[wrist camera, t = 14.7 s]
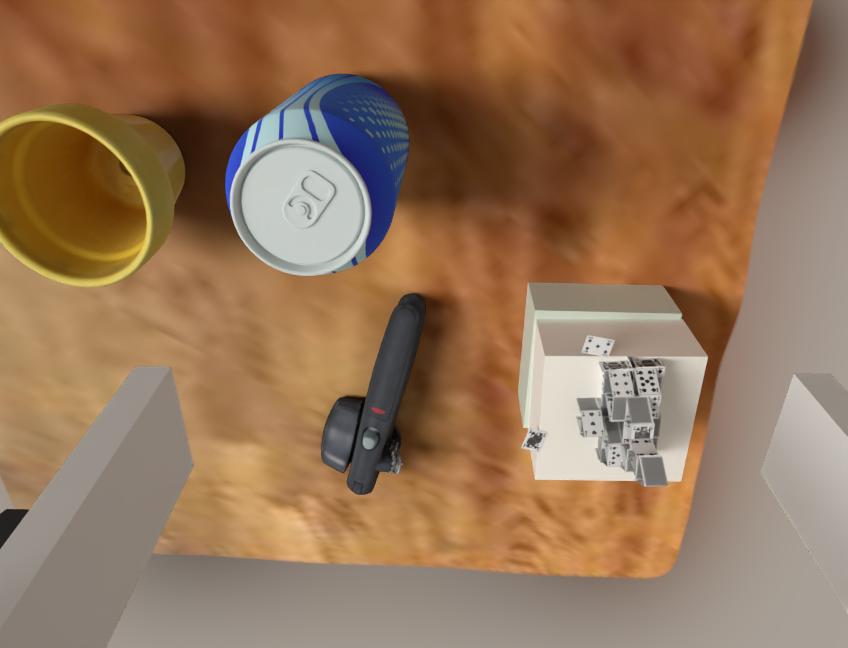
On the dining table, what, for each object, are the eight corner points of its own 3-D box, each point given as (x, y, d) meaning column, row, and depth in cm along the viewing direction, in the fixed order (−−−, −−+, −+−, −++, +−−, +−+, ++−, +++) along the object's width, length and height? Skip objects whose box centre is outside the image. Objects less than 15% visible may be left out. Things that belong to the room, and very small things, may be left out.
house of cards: (520, 337, 40) (534, 410, 33) (665, 331, 39) (709, 404, 33) (520, 452, 44) (533, 538, 37) (651, 448, 44) (688, 535, 37)
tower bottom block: (517, 390, 54) (523, 427, 49) (527, 280, 49) (534, 310, 45) (639, 394, 53) (656, 431, 49) (661, 283, 49) (682, 313, 44)
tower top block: (527, 435, 50) (535, 479, 45) (535, 318, 45) (544, 356, 40) (660, 436, 49) (680, 481, 45) (682, 319, 44) (707, 356, 40)
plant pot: (52, 198, 47) (-38, 248, 38) (76, 58, 42) (-21, 79, 34) (191, 254, 49) (134, 314, 40) (228, 125, 44) (173, 161, 35)
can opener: (392, 470, 58) (386, 516, 53) (317, 448, 57) (303, 492, 52) (460, 302, 50) (461, 337, 45) (374, 274, 49) (365, 307, 44)
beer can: (423, 181, 45) (411, 273, 31) (310, 209, 47) (249, 309, 32) (391, 56, 42) (360, 95, 27) (269, 89, 43) (179, 143, 29)
